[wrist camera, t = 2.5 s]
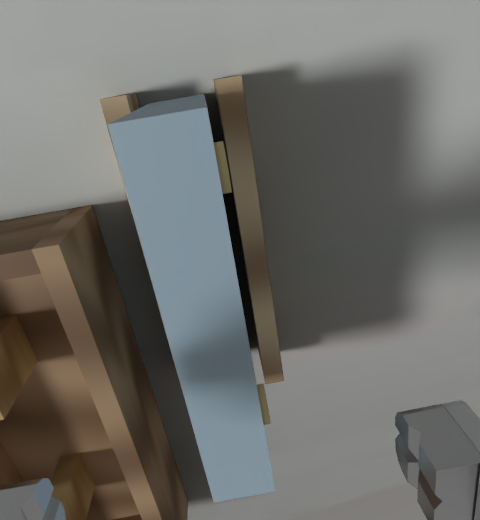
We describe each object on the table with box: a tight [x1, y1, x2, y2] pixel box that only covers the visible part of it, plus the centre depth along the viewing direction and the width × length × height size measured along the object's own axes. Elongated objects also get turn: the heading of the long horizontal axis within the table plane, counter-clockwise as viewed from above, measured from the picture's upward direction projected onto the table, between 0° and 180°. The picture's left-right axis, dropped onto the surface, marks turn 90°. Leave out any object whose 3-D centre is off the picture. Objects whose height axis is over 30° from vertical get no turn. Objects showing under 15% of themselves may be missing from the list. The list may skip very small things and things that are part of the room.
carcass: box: [0, 205, 188, 520], centre depth 21 cm, size 22×10×5 cm, turn 9°
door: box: [108, 94, 275, 503], centre depth 17 cm, size 14×3×9 cm, turn 9°
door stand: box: [100, 75, 284, 399], centre depth 19 cm, size 15×5×2 cm, turn 9°
